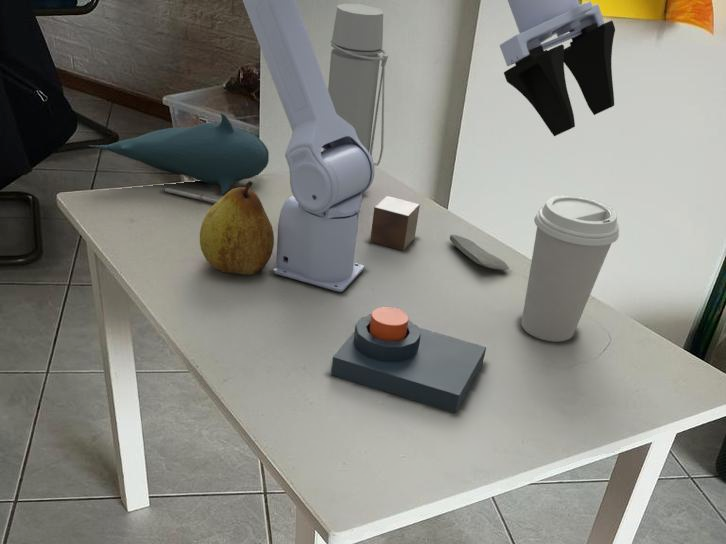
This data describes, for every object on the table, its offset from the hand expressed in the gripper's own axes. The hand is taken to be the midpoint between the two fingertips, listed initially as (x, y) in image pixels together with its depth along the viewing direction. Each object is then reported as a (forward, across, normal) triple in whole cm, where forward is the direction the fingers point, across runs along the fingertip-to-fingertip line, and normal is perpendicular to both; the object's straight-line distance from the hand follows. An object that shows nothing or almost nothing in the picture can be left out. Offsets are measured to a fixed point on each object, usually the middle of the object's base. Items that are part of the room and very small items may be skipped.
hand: (584, 120), depth 79 cm
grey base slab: (+16, -16, +20) cm, 30 cm away
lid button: (+11, -17, +20) cm, 28 cm away
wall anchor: (-13, -5, +60) cm, 61 cm away
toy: (-19, -3, +57) cm, 60 cm away
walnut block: (+4, +9, +39) cm, 40 cm away
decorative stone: (+12, +16, +30) cm, 36 cm away
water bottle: (-5, +17, +52) cm, 55 cm away
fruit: (-2, -15, +43) cm, 46 cm away
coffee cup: (+21, +5, +17) cm, 27 cm away
